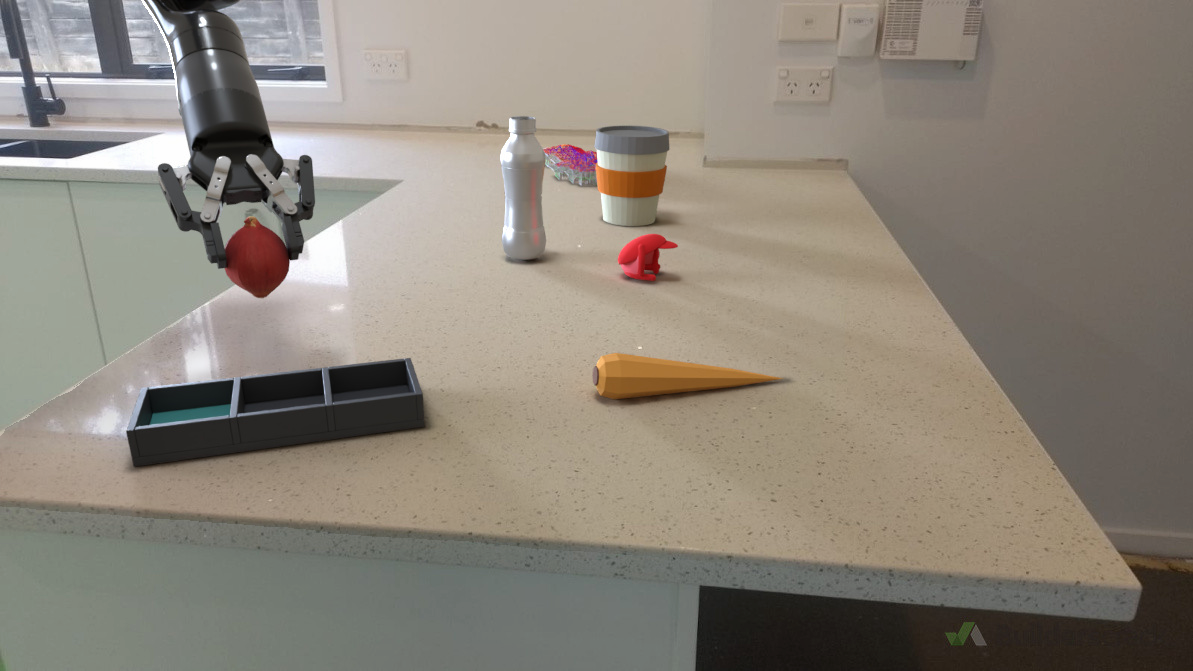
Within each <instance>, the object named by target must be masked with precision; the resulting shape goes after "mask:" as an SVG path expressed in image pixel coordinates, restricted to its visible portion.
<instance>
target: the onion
mask: <svg viewBox="0 0 1193 671" xmlns="http://www.w3.org/2000/svg"><path fill="white" fill-rule="evenodd" d="M243 223H244V225H242V226H241V227H240V228H239V229H237V230H236V231H234V233H233V234H231V236H230V237H229V238H228V240H227V242H226V243H225V245H224V248H225V253H226V258H227V268H224V271H225V273H226V276H227V277H228V278H229V280H230V281H231V283H233V284H234V285H236V286H237V287H239V288H240V289H242V290H244V291H246V292H247V293H249V294H251V296H253V297H254V298H257V299H265V298H267V297H268V296H269V295H270V294H271V293H273V292H274V291H275V290H276V289H277V288H278V287H279V286H280V285H281V284H282V283H283V282H284V281H285V280H286V278H287V276H288V274H289V272H290V261H291V260H290V259H289V255H288V250H287V247H286V244H285V241H283V239H282V238H281V236H279V235H278V234H277V233H276V232H274V231H273V230H272V229H270V228H269V227H268V226H265V225H263V224H262V223H261V222H260V221H259V220H258V218H257V217H256V216H252V215H250V216H246V218H245V220H243Z"/></svg>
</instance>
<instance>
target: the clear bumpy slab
mask: <svg viewBox="0 0 1193 671" xmlns="http://www.w3.org/2000/svg"><path fill="white" fill-rule="evenodd" d="M542 148H543V147H542ZM543 150H544V153H545V157H546V158H545V167H547V168H548V169H550V170H552V171H553V172H554V176H555V177H556V178H557V179H558V180H559V181H570V183H571V184H573V185H577V184H578V185H580V186H581V187H583V186H584V187H585V186H589V185H590V183H594V186H597V175H596V163H597V162H598V160H597V151H594V150H585V149H583V148H582V147H580V146H575V145H573V144H569V143H567V144H559V145H558V144H557V145H556V146H555V145H553V146H551V147H550V146H548V147H544V148H543ZM585 183H586V184H585Z"/></svg>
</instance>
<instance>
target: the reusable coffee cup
mask: <svg viewBox="0 0 1193 671" xmlns="http://www.w3.org/2000/svg"><path fill="white" fill-rule="evenodd" d="M594 149H595V150H596V152H597V160H598V162H597V163H596V175H597V183H596V186H597V191H598V192H599V193H600V200H601V211H602V219H603V221H604V222H606V223H608V224H610V225H615V226H621V227H643V226H648V225H651V224H654V223H655V222H656V217H657V212H658V205H659V202H660V195H661V194H663V191H664V185H665V180H666V175H667V171H668V170H667V169H668V166H667V164H666V162H667V157H668V156H667V155H668V152H669V151H670V149H671V148H670V133H669V131H668V130H667V129H664V128H661V127H655V126H645V125H609V126H602V127H598V128H596V132H595V139H594ZM596 175H595V176H596Z"/></svg>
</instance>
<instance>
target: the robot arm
mask: <svg viewBox="0 0 1193 671" xmlns="http://www.w3.org/2000/svg"><path fill="white" fill-rule="evenodd" d="M141 1H142V3H143V5H144V6H145V8H146V9H147V10H148V12H149V14H150V15H151V16H152V18H153V20H154V22H155V23H156V24H157V26H158V28H159V30H160V33H161V34H162V36H163V38H164V41H165V43H166V46H167V48H168V52H169V56H170V60H171V64H172V69H173V73H174V79H175V93H176V94H175V95H176V99H177V103H178V112H179V115H180V117H181V122H182V125H183V130H184V134H185V139H186V142H187V148H188V151H189V156H190V157H189V160H188V161H187V164H183V165H180V166H174V167H173V166H172V165H171V164H170V163H167V162H162V163H160V164H159V165H158V166H157V174H158V184H159V187H160V190H161V192H162V194H163V196H164V198H165V200H166V203H167V205H168V207H169V210H170V212H171V215H172V217H173V219H174V221H175V223H176V225H177V227H178V230H180V231H181V232H184V233H185V232H190V231H194V232H195V231H196V232H197V233H199V234H200V235H201V236H202V240H203V243H204V248H205V253H206V257H207V260H208V261H209V263H210V264H216V266H217V269H218V270H220V269H225V268H227V258H226V253H225V245H224V239H223V236H222V231H221V227H220V223H219V220H220V217H221V215H222V214H223V213H222V212H223V209H224V206H225V204H226V206H233V205H238V204H241V203H249V204H258V203H262V205H263V206H264V207H265V208H266V209H267V211H269V212H270V213H272V214H274V215H275V217H276V218H277V219H278V220H279V221H280V223H281V232H282V235H283V239H284V243H285V245H286V247H287V250H288V255H289V259H290V261H297V260H299V257H300V255H301V254H303V250H304V245H305V239H304V238H305V237H304V235H303V230H302V227H301V223H300V222H301V221H303V220H304V221H309V220H311V219H312V218H313V217H314V208H315V206H316V195H315V179H314V167H313V165H314V164H313V158H312V157H311V156H310V155H308V154H302V155H300V156H299V159H291V158H283V157H282V156H281V154H280V153H279V152H278V151H277V150H276V148H275V146H274V142H273V138H272V134H271V131H270V127H269V123H268V119H267V116H266V112H265V108H264V104H263V100H262V96H261V93H260V89H259V86H258V83H257V81H256V78H255V75H254V74H253V71H252V68H251V64H250V62H249V58H248V55H247V54H248V53H247V51H246V46H245V43H244V42H245V41H244V39H243V36H242V33H241V31H240V28H239V27H238V25H237V23H236V22H235V20H233V19H232V18H231V17H230V16H229V15H227V14H225V13H224V12H220V11H223V10H226V9H229V8H231V7H234V6H236V5H238V4H240V3H241V2H242V1H243V0H141ZM283 173H285V174H287V175H288V176H289V179H290V181H291V182H292V183H293V184H297V192H298V201H296V202H295V203H294V202H293V200H291V198H290V197H289V196H288V194H286V190H285V189H284V187H283V185H282V184H281V183H280V182H279V181H278V180H279V179H280V177H281V176H282V174H283ZM188 180H192V181H193V182H194V183H196V184H197V185H198V186H199V187H200V188H202V189H203V190H204V191H205V192H206V193H205V200H204V202H203V205H202V208H201V211H196V210H192V208H191V206H190V204H189V202H188V200H187V199H188V198H187V196H186V195H185V193H184V191H185V190H186V189H187V181H188Z"/></svg>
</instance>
